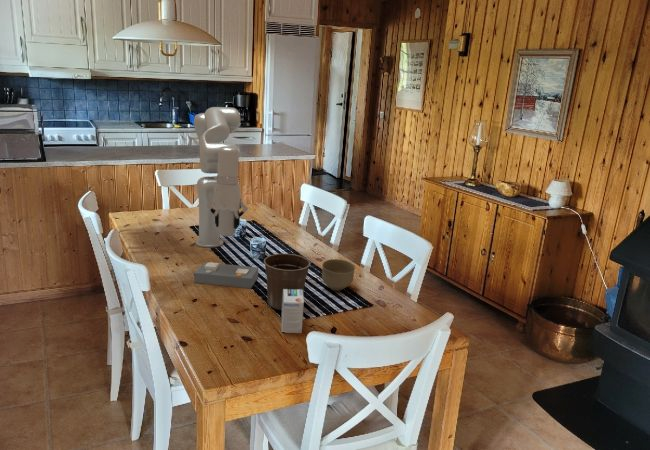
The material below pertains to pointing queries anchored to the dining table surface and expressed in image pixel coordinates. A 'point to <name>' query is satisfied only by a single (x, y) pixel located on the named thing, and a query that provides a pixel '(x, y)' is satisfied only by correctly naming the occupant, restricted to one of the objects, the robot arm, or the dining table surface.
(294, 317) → the light bulb box
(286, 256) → the plant pot
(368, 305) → the dining table surface
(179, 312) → the dining table surface
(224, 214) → the beverage can
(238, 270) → the block
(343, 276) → the bowl
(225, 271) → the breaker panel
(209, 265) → the block
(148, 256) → the dining table surface
